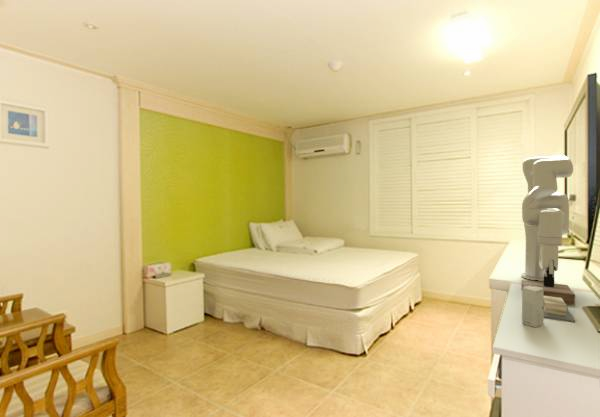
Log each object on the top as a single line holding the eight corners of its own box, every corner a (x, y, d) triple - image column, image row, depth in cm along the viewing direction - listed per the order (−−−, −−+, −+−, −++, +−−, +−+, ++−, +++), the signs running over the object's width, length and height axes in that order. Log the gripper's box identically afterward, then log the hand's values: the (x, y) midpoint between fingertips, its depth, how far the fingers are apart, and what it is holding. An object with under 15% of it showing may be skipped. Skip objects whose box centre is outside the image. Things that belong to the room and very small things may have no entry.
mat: (525, 298, 132) (526, 297, 132) (563, 303, 126) (563, 302, 126) (531, 315, 115) (531, 314, 115) (575, 322, 109) (575, 320, 109)
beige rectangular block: (545, 302, 116) (545, 312, 116) (566, 305, 113) (566, 315, 113) (541, 295, 124) (541, 304, 124) (561, 297, 121) (561, 307, 121)
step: (521, 289, 145) (521, 280, 145) (567, 294, 137) (567, 285, 137) (524, 298, 133) (524, 288, 133) (574, 304, 125) (575, 294, 125)
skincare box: (536, 328, 105) (537, 291, 104) (520, 323, 109) (521, 287, 108) (544, 323, 108) (545, 287, 108) (528, 319, 112) (529, 284, 111)
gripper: (535, 238, 137) (534, 280, 138) (540, 243, 124) (539, 290, 125) (558, 239, 133) (557, 283, 134) (565, 244, 120) (564, 293, 121)
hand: (548, 286), depth 129 cm, fingers closed
